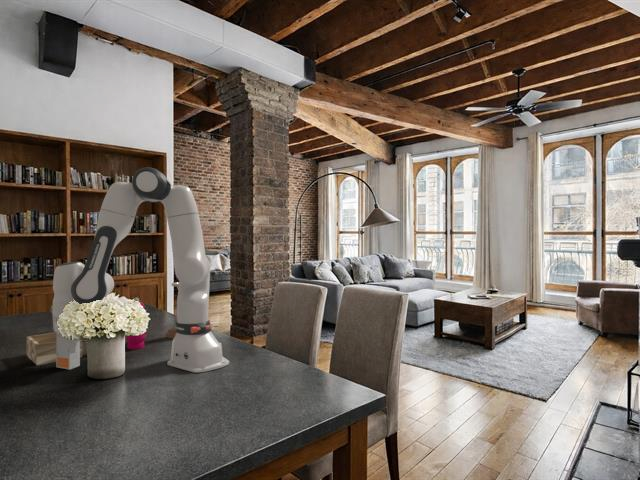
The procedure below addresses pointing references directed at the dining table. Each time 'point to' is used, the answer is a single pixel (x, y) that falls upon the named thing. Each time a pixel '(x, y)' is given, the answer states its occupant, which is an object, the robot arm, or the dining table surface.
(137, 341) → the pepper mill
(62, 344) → the skincare box
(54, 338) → the socket box
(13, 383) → the dining table surface
